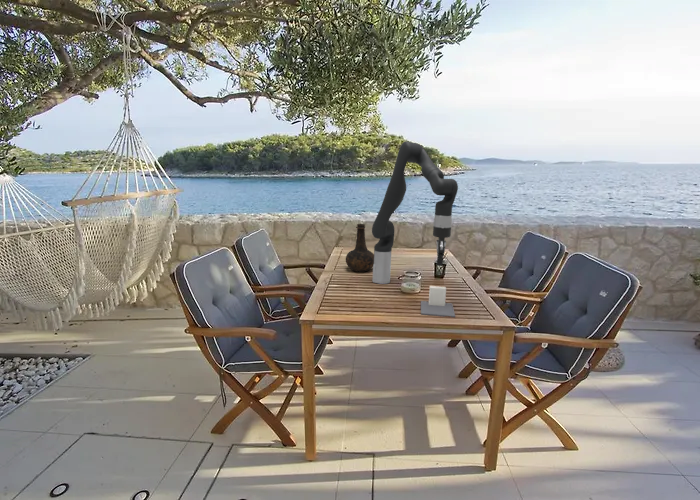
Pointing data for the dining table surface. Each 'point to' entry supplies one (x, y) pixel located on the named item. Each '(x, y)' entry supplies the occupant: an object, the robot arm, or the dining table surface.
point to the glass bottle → (360, 253)
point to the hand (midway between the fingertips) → (439, 264)
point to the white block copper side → (437, 295)
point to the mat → (437, 309)
